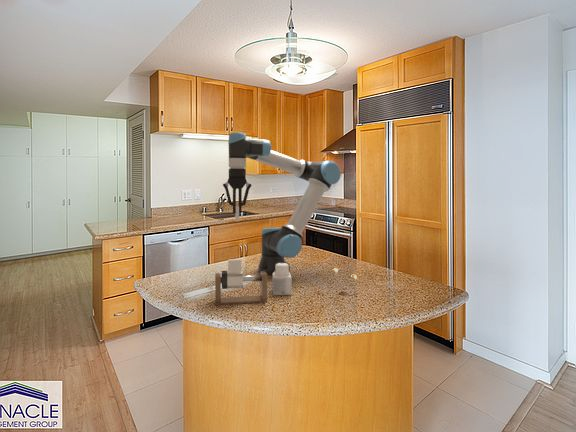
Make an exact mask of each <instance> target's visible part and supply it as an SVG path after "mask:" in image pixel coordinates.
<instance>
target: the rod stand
mask: <svg viewBox="0 0 576 432" xmlns="http://www.w3.org/2000/svg"><path fill="white" fill-rule="evenodd" d="M214 274H215V275H214V276H215V277H214V278H215V279H214V282H215V283H214V284H215V285H214V287H215V290H214V292H215V297H214V299H215V300H214V301H215V306H224V305H239V304H240V305H242V304H256V303H257V304H258V303H268V274H267V273H266V271H261V273H260V274H254V275H253V274H252V275H243V283H244V282H245V283H246V282H247V283H248V282H249V283H250V282H260V285H259V287H260V288H259V289H260V292H259V293H260V294H259V295H244V296H243V295H242V296H226V297H225V296H224V297H222V295H221V294H222V292H221V291H222V273H221V272H217V273H214Z"/></svg>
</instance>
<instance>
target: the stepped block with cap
mask: <svg viewBox="0 0 576 432" xmlns="http://www.w3.org/2000/svg"><path fill="white" fill-rule="evenodd" d="M227 262H228V264H227V268H228V269H227V270H226V271H227V289H228V290H229V289H244V282H243V276H244V272H243V269H242V259H241V258H231V259H230V258H228V260H227ZM227 289H226V290H227Z"/></svg>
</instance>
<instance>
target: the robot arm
mask: <svg viewBox="0 0 576 432" xmlns="http://www.w3.org/2000/svg"><path fill="white" fill-rule="evenodd" d="M227 144H228V167H229V168H228V179H227V181H226V182H225V183H222V186H223V188H224V190H225V194H226V197H227V198H226V199H227V201H228V205H230V206H232V213H233V214H235V216H234V217H235V219H234V220H235V222H238V221H240V214H242V206H245V205H246V204H247V199H248V196H249V191H250V189H251V187H252V186H253V185H252V184H251V183H249V182H248V180H247V177H246V176H247V175H246V174H247V173H246V172H247V171H246V168H247V167H246V166H247V164H246V163H247V162H246V161H247V158H248V159H251V160H253V161H257V162H260V163H261V164H265V165H267V166H271V167H274V168H276V169H279V170H281V171H285V172H288V173H291V174H294V175H295V177H297V178H300V179H302V180H304V181H306V182H308V183H309V184H308V186H307V188H306V189H305V192H304V193H303V195H302V197H301V199H300V200H299V202H298V203H297V205H296V207H295V209H294V211H293V213H292V214H291V217H290V218H289V219H288V221H287V223H286V224H283V225H282V226H281V227H265V228H263V229H262V230H261V257H260V260H259V264H258V267H257V268H258V269H257V270H258V272H259V273H260V274H261V271H266V273H267V275H273V272H274V264H275V263H277V262H286V260H285V258H286V259H292V258H295V257H296V256H298V255H299V254H300V252H302V251H301V250H302V249H303V242H302V240H303V238H304V235H303V232H304V230H305V228H306V226H307V224H308V222H309V221H310V219H311V217H312V215H313V214H314V212H315V210H316V208H317V207H318V205H319V202H320V201H321V199H322V197H323V195H324V194H325V192H328V191H330V188H331V187H332V185H335V184H337V183H338V182H339V181H340V179H341V174H342V173H341V168H340V166H339V164H337V162H335V161H334V160H324V161H321V160H320V161H318V160H317V161H307V160H304V159H300V160H299V159H297V158H293V157H291V156H289V155H286V154H283V153H279V152H278V151H275V150H272V144H271V141H270V140H268V139H263V138H262V139H261V138H248V137H247V134H246V133H245V132H240V131H239V132H237V131H235V132H234V131H233V132H231V133H229V135H228V142H227ZM229 186H230V187H231V189H232V199H231V195H230V191H229ZM244 187H246V188H245V191H244V195H243V199H242V193H243V192H242V191H243V188H244ZM237 189H238V205H237Z"/></svg>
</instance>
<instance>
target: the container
mask: <svg viewBox="0 0 576 432" xmlns="http://www.w3.org/2000/svg"><path fill="white" fill-rule="evenodd" d="M290 268H291V267H290V263H289V262H287V261H285V262H277V263H275V264H274V272H273V274H272V281H271V282H272V284H271V285H272V287H271V289H272V294H273V295H272V296H287V295H289V296H291V295H292V283H293V282H292V279H293V278H292V275H291V272H290V271H291V270H290Z"/></svg>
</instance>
